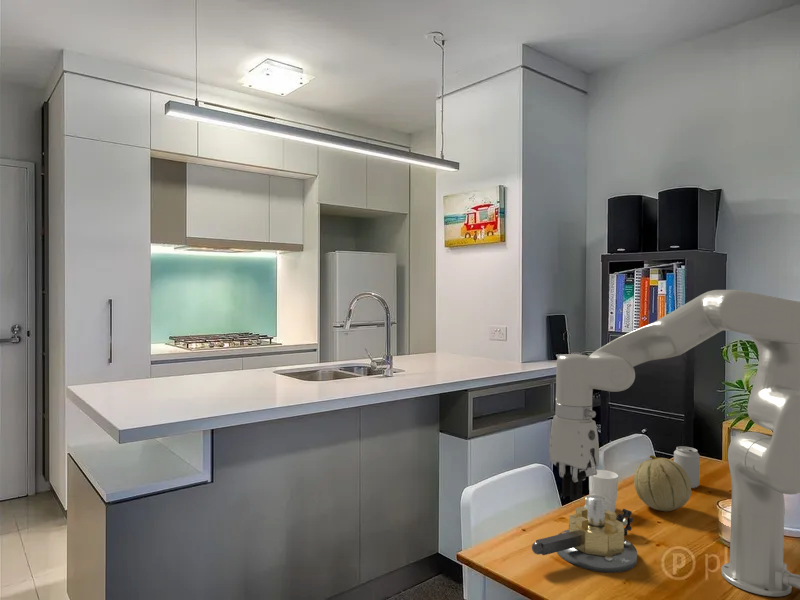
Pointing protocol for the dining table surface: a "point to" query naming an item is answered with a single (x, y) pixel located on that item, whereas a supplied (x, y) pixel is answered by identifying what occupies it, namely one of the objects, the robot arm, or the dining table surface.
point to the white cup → (605, 487)
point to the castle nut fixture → (586, 536)
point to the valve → (619, 517)
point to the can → (689, 463)
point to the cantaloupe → (662, 484)
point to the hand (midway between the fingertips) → (571, 496)
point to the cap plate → (596, 561)
